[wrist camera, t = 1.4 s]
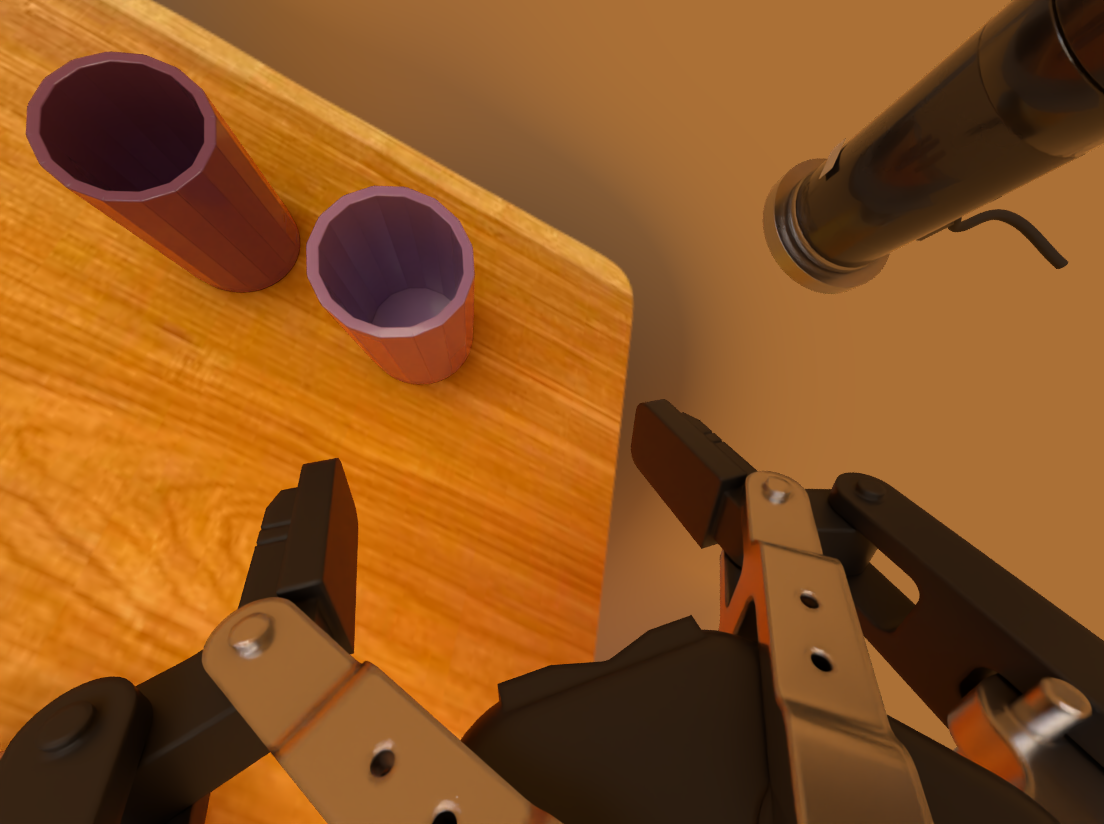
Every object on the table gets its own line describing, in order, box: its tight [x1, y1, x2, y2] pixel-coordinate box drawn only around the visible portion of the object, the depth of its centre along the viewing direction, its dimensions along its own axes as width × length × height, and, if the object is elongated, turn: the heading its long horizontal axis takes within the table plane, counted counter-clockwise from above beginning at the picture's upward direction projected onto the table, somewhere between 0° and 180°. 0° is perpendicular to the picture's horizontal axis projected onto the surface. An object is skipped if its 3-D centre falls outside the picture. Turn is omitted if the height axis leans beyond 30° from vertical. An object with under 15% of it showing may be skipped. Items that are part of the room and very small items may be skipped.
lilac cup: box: [306, 186, 475, 384], centre depth 22 cm, size 6×6×10 cm
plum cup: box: [26, 52, 300, 292], centre depth 21 cm, size 6×6×9 cm
